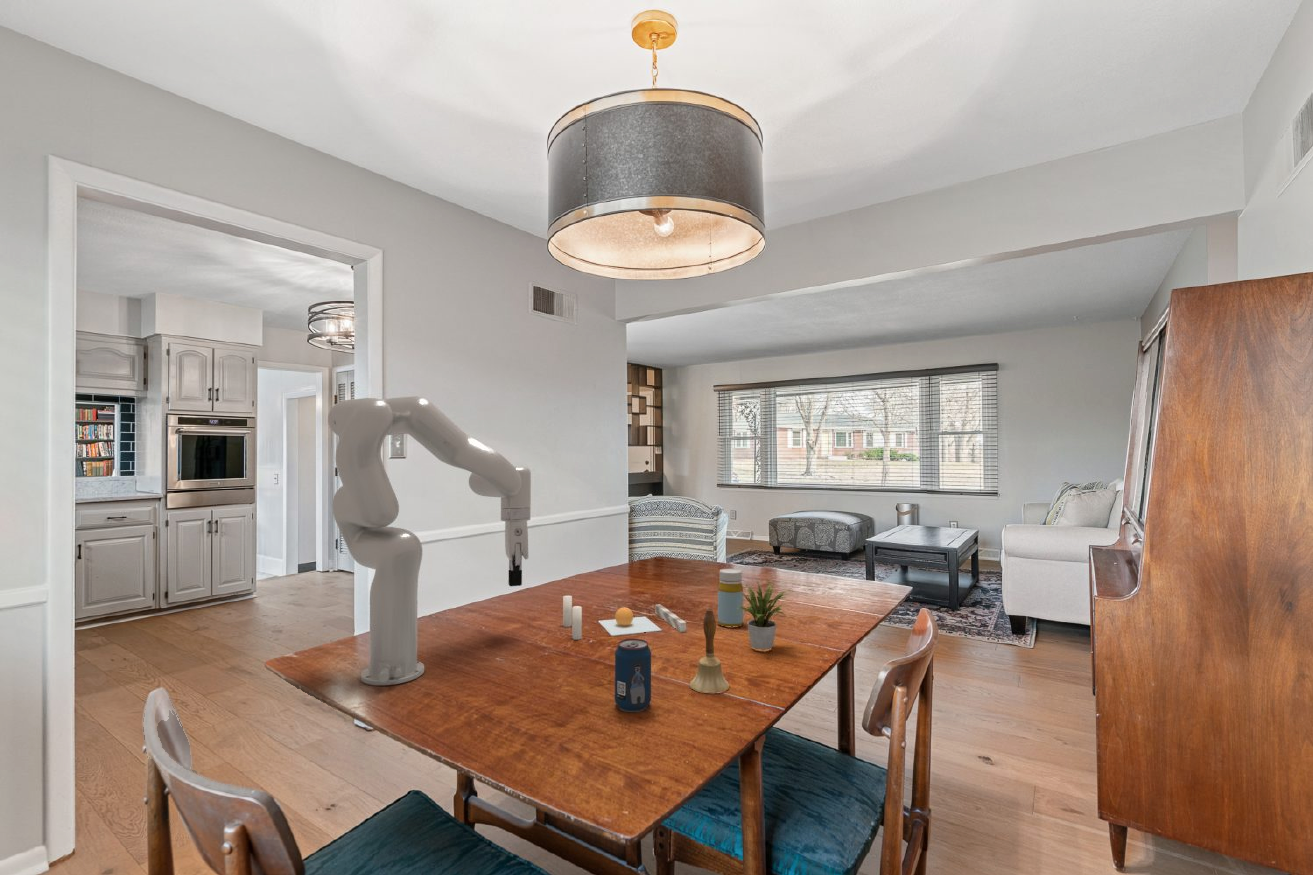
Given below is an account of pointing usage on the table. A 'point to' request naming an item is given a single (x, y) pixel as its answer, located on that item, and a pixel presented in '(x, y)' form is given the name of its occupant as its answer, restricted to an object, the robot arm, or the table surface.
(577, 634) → the post near
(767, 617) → the house plant
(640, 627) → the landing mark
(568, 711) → the table surface
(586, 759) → the table surface
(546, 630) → the table surface
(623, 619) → the ball
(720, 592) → the bottle
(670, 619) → the wall
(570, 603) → the post far
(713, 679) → the hand bell
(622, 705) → the soda can
